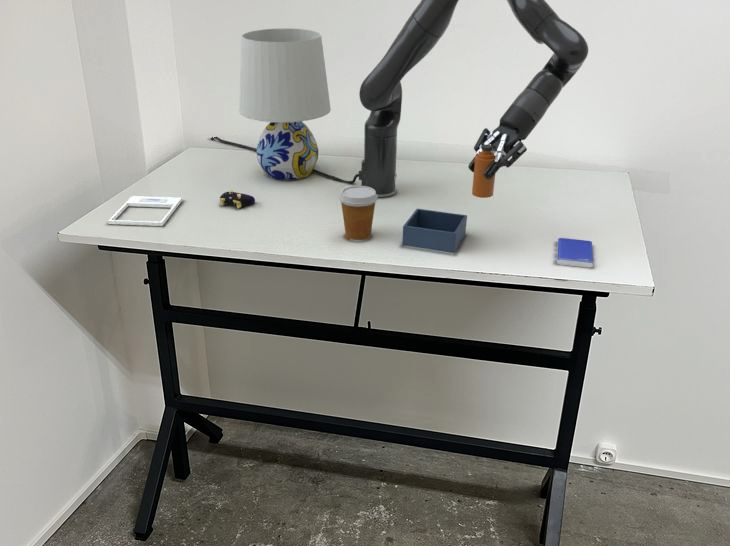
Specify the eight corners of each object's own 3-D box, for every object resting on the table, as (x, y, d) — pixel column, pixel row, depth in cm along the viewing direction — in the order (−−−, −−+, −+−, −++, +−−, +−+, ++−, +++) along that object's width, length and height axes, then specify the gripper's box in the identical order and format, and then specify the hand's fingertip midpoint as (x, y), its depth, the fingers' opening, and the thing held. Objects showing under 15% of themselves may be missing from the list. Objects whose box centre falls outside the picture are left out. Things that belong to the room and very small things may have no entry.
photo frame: (181, 197, 202) (161, 221, 187) (182, 200, 202) (162, 225, 187) (131, 195, 203) (107, 220, 188) (132, 199, 203) (108, 223, 188)
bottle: (469, 196, 169) (474, 148, 162) (474, 189, 172) (478, 142, 166) (490, 199, 167) (495, 150, 161) (494, 191, 171) (500, 144, 165)
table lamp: (283, 153, 238) (276, 24, 217) (349, 169, 225) (348, 32, 203) (226, 176, 220) (212, 36, 198) (294, 194, 207) (286, 47, 185)
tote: (402, 247, 177) (403, 226, 174) (415, 228, 186) (416, 208, 183) (454, 255, 173) (455, 233, 170) (465, 235, 182) (467, 215, 179)
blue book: (593, 262, 166) (592, 240, 176) (557, 258, 168) (558, 237, 178) (592, 268, 167) (591, 246, 177) (556, 264, 169) (557, 243, 179)
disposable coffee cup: (348, 247, 177) (348, 201, 170) (333, 232, 184) (333, 188, 177) (383, 240, 180) (384, 195, 173) (367, 226, 187) (367, 182, 181)
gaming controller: (257, 198, 201) (248, 189, 196) (251, 216, 200) (241, 207, 195) (228, 193, 205) (218, 184, 199) (222, 210, 204) (212, 201, 198)
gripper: (496, 97, 167) (451, 156, 169) (538, 111, 157) (489, 173, 158) (511, 117, 172) (467, 173, 174) (553, 131, 162) (505, 192, 163)
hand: (478, 173), depth 166 cm, fingers closed on bottle, 5 cm apart
